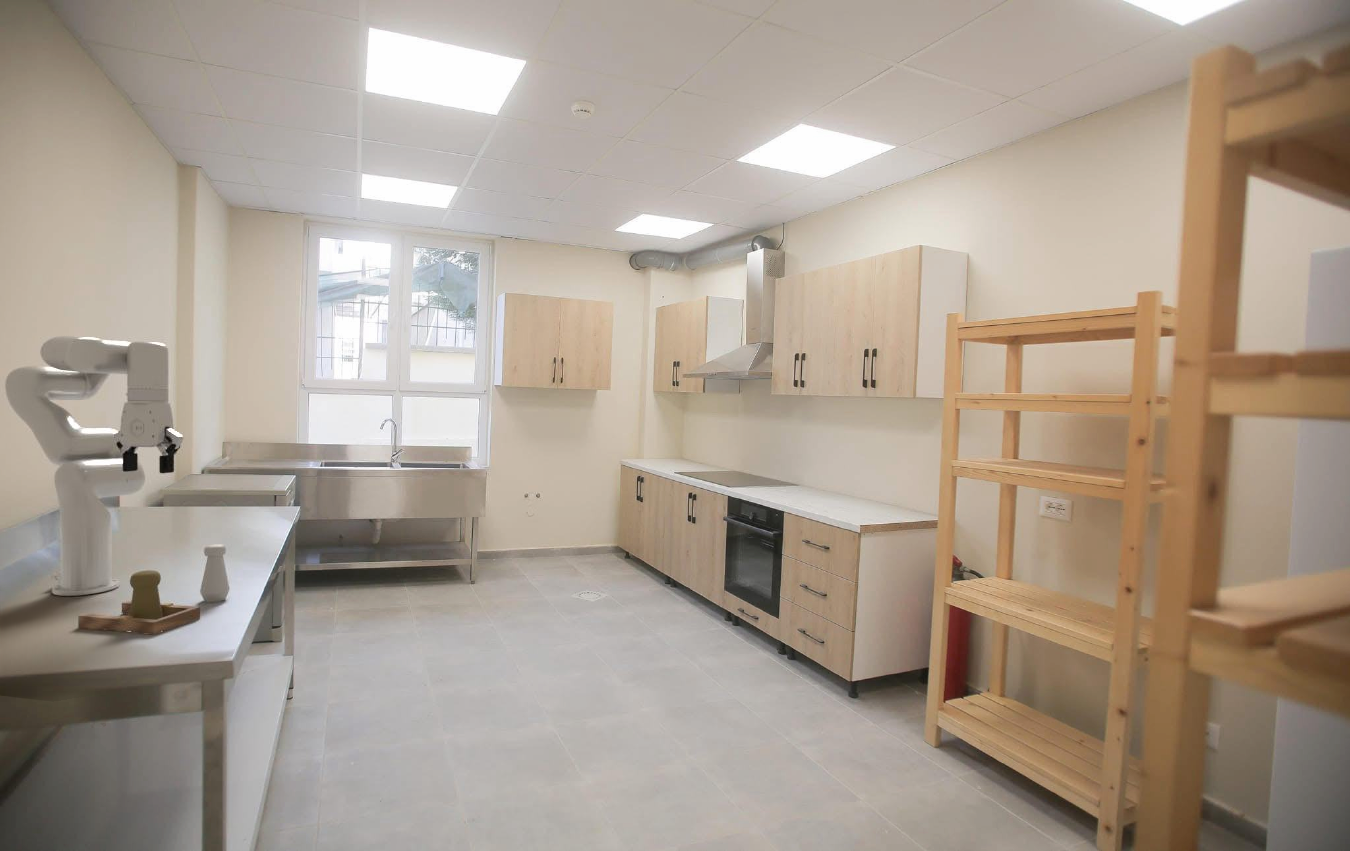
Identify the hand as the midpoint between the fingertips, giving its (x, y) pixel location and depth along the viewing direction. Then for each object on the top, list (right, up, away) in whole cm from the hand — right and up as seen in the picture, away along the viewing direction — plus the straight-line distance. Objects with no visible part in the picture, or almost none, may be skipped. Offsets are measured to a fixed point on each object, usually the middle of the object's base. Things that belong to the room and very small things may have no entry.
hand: (148, 471), depth 162 cm
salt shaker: (+12, -31, +5) cm, 33 cm away
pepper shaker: (+9, -31, -13) cm, 35 cm away
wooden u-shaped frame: (+7, -31, -12) cm, 34 cm away
